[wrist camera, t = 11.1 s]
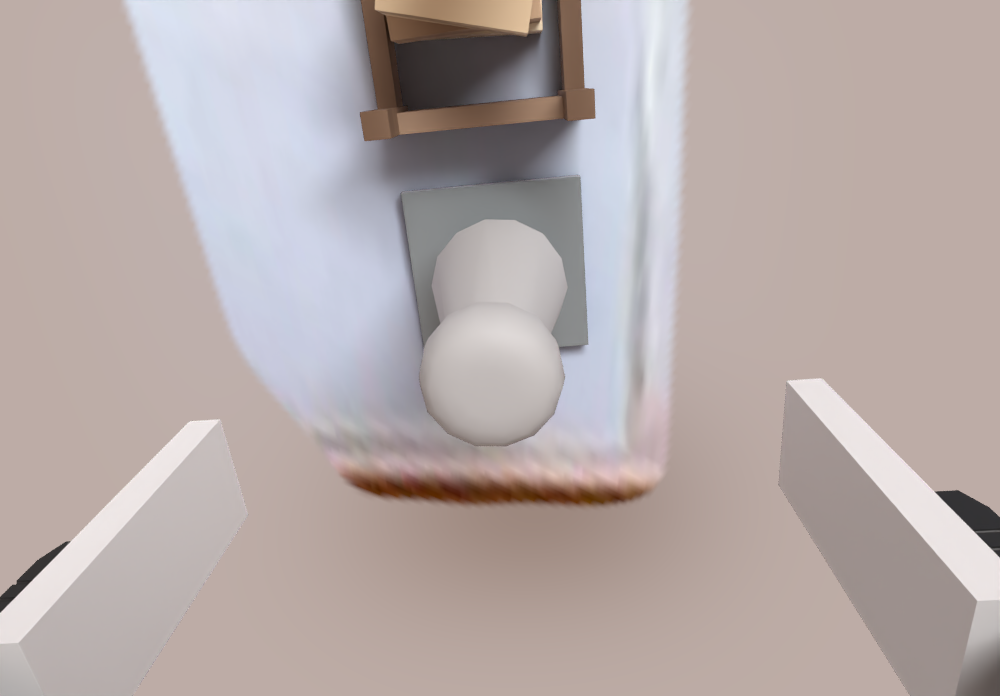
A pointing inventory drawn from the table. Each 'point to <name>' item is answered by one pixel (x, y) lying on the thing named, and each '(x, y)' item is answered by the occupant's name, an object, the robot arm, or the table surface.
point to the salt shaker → (495, 334)
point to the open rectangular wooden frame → (398, 120)
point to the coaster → (526, 201)
